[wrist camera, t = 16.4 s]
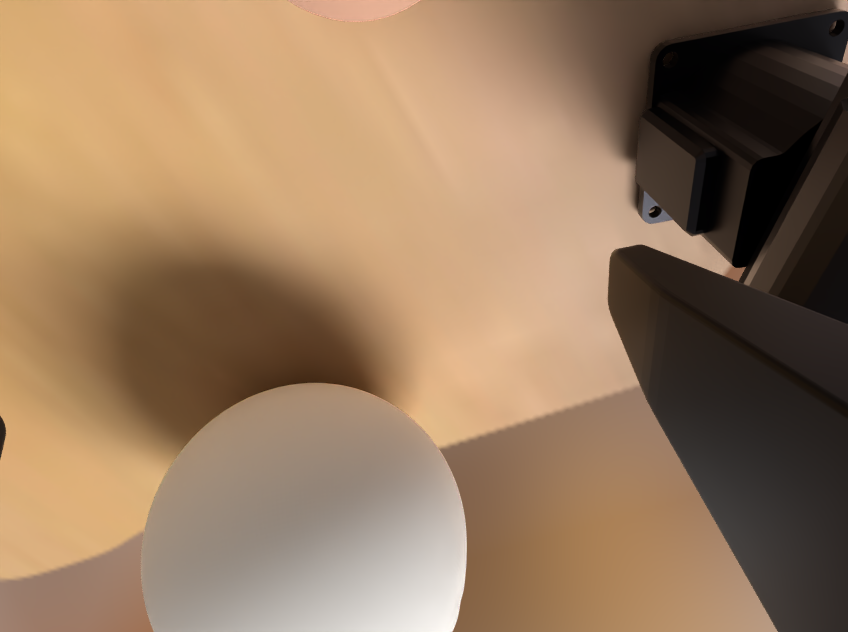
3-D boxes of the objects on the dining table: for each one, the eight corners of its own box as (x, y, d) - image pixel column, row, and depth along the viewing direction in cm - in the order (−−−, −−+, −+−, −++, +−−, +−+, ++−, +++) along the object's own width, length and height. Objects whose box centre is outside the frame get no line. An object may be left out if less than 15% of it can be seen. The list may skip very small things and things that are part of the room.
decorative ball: (261, 528, 32) (232, 806, 22) (121, 379, 25) (-10, 695, 15) (471, 460, 31) (534, 723, 21) (388, 283, 24) (427, 560, 14)
